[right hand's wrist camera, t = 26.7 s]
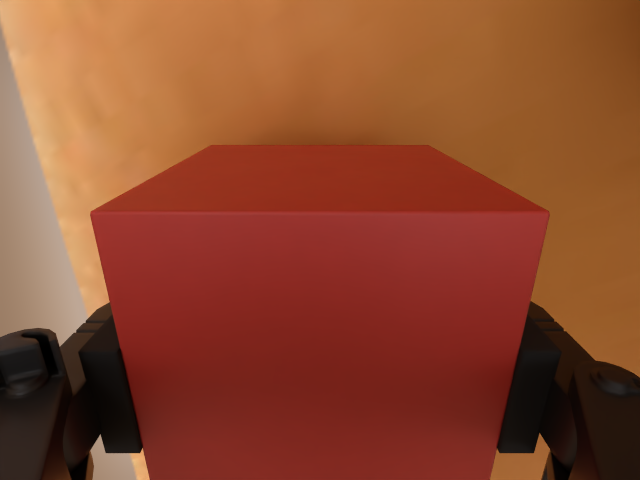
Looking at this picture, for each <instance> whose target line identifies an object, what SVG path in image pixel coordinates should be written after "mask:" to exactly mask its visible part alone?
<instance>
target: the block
mask: <svg viewBox="0 0 640 480" xmlns="http://www.w3.org/2000/svg"><path fill="white" fill-rule="evenodd" d="M90 216H91V220H92V225H93V229H94V234H95V238H96V243H97V247H98V251H99V256H100V260H101V265H102V269H103V274H104V278H105V283H106V287H107V291H108V296H109V300H110V305H111V309H112V314H113V318H114V322H115V327H116V331H117V336H118V340H119V345H120V349H121V353H122V358H123V362H124V367H125V371H126V376H127V380H128V384H129V389H130V393H131V398H132V402H133V407H134V411H135V415H136V420H137V424H138V429H139V433H140V438H141V442H142V446H143V451H144V455H145V460H146V464H147V469H148V473H149V477H150V480H490V476H491V472H492V468H493V463H494V459H495V454H496V450H497V445H498V441H499V437H500V432H501V428H502V423H503V419H504V415H505V410H506V406H507V401H508V397H509V392H510V388H511V384H512V379H513V375H514V370H515V366H516V362H517V357H518V353H519V348H520V344H521V339H522V335H523V331H524V326H525V322H526V317H527V313H528V309H529V304H530V300H531V295H532V291H533V286H534V282H535V278H536V273H537V269H538V264H539V260H540V256H541V251H542V247H543V242H544V238H545V233H546V229H547V225H548V220H549V216H550V214H549V211H547V210H545V209H544V208H542V207H540V206H538V205H536V204H534V203H533V202H531V201H529V200H527V199H525V198H524V197H522V196H520V195H518V194H516V193H514V192H513V191H511V190H509V189H507V188H505V187H503V186H502V185H500V184H498V183H496V182H494V181H493V180H491V179H489V178H487V177H485V176H483V175H482V174H480V173H478V172H476V171H474V170H473V169H471V168H469V167H467V166H465V165H463V164H462V163H460V162H458V161H456V160H454V159H452V158H451V157H449V156H447V155H445V154H443V153H442V152H440V151H438V150H436V149H434V148H432V147H431V146H429V145H211V146H209V147H207V148H205V149H203V150H202V151H200V152H198V153H196V154H194V155H192V156H191V157H189V158H187V159H185V160H183V161H182V162H180V163H178V164H176V165H174V166H173V167H171V168H169V169H167V170H165V171H163V172H162V173H160V174H158V175H156V176H154V177H153V178H151V179H149V180H147V181H145V182H144V183H142V184H140V185H138V186H136V187H134V188H133V189H131V190H129V191H127V192H125V193H124V194H122V195H120V196H118V197H116V198H114V199H113V200H111V201H109V202H107V203H105V204H104V205H102V206H100V207H98V208H96V209H95V210H93V211H91V214H90Z"/></svg>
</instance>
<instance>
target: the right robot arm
mask: <svg viewBox="0 0 640 480" xmlns="http://www.w3.org/2000/svg"><path fill="white" fill-rule="evenodd" d="M539 433H540V434H541V435H542V437H543V439H544V440H545V442H546V443H547V445H548V447H549V448H550V452H549V455H548V458H547V462H546V465H545V469H544V472H543V475H542V479H541V480H640V378H639V377H638V376H637V375H635V374H634V373H632V372H630V371H628V370H626V369H624V368H622V367H619V366H616V365H613V364H610V363H606V362H601V361H595V360H594V359H593V358H592V357H591V356H590V355H589V354H588V353H587V352H586V351H585V350H584V349H583V348H582V347H581V346H580V345H579V344H578V343H577V342H576V341H575V340H574V339H573V338H572V337H571V336H570V335H569V334H568V333H567V332H566V331H564V329H563V328H562V327H561V326H560V325H559V324H558V323H557V322H554V319H553V318H552V317H551V316H550V315H549V314H548V313H547V312H546V311H545V310H544V309H543V308H542V307H540V306H538V305H536V304H535V303H533V302H531V301H530V304H529V309H528V313H527V317H526V322H525V326H524V331H523V335H522V339H521V344H520V348H519V353H518V357H517V362H516V366H515V370H514V375H513V379H512V384H511V388H510V392H509V397H508V401H507V406H506V410H505V415H504V419H503V423H502V428H501V432H500V437H499V441H498V445H497V448H498V451H499V453H534V451H535V447H536V443H537V440H538V436H539ZM100 434H101V437H102V441H103V445H104V448H105V452H106V453H140V452H141V450H142V448H143V446H142V442H141V438H140V433H139V429H138V424H137V420H136V415H135V411H134V407H133V402H132V398H131V393H130V389H129V384H128V380H127V376H126V371H125V367H124V362H123V358H122V353H121V349H120V345H119V340H118V336H117V331H116V327H115V322H114V318H113V314H112V309H111V305H110V302H109V303H108V304H106V305H104V306H102V307H101V308H99V309H97V310H96V311H95V312H94V313H93V314H92V315H91V316H90V317H89V318H88V319H87V320H86V323H83V324H82V325H81V326H80V327H79V328H78V329H77V330H76V333H73V334H72V335H71V336H70V337H69V338H68V339H67V340H66V341H65V342H64V343H63V344H62V345H61V346H60V347H59V343H58V340H57V337H56V333H54V332H53V331H51V330H50V329H42V328H34V329H25V330H21V331H17V332H14V333H10V334H7V335H5V336H2V337H0V480H92V478H93V469H94V465H93V459H92V455H91V452H90V450H91V448H92V447H93V445H94V443H95V442H96V440H97V439H98V437H99V435H100Z"/></svg>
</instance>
